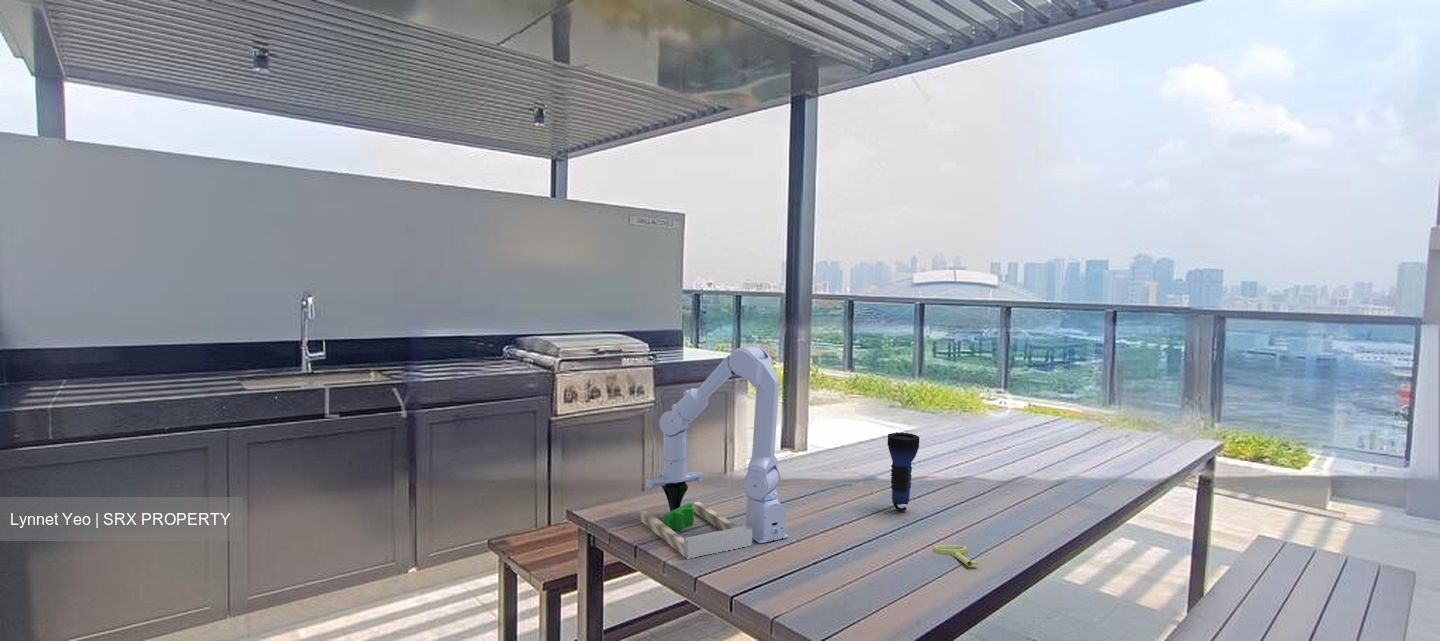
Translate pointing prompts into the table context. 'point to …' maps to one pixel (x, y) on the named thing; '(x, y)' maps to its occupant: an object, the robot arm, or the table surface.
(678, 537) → the guide rails
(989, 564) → the table surface
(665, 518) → the pipe clamp
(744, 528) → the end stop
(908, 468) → the flashlight
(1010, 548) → the table surface
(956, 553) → the key
